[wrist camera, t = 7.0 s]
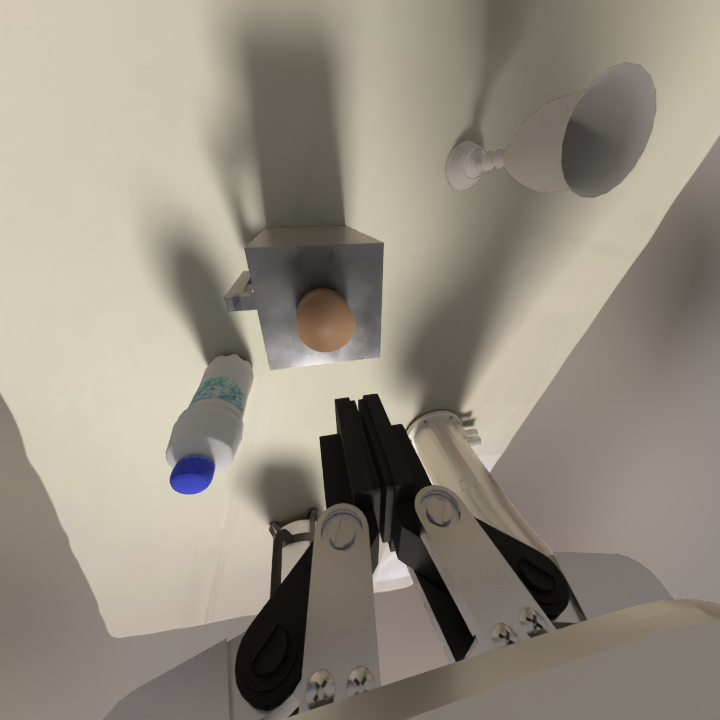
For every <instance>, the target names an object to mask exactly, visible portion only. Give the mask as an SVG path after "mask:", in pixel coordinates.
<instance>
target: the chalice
mask: <svg viewBox="0 0 720 720" xmlns="http://www.w3.org/2000/svg"><path fill="white" fill-rule="evenodd" d="M655 113H656V90H655V87H654V84H653V81H652V78H651V75H650V74H649V73H648V72H647V71H646V70H645V69H644V68H643V67H642V66H641V65H638V64H633V63H628V62H625V63H622V64H619V65H616V66H613V67H610V68H609V69H607V70H606V71H605V72H604V73H603V74H601V75H600V76H599V77H598V78H596V79H595V80H594V81H593V82H592V83H591V84H590V85H589V86H588V87H587V88H585V89H582V90H580V91H577V92H575V93H572V94H569V95H567V96H564V97H562V98H559V99H557V100H554V101H551V102H549V103H547V104H545V105H544V106H543V107H542V108H540V109H539V110H538V111H537V112H536V113H535V114H533V115H532V116H531V117H530V118H529V119H528V120H527V121H526V122H525V123H524V124H523V125H522V126H521V128H520V129H519V130H518V132H517V133H516V134H515V136H514V137H513V138H512V140H511V141H510V142H509V144H508V145H507V147H506V149H505V150H502V149H500V150H498V151H497V152H496V153H495V154H494V152H492V151H489V152H487V153H486V152H485V150H484V149H483V148H482V147H481V146H479V145H478V144H477V143H475V142H473V141H463V142H461V143H459V144H458V145H457V146H455V147H454V148H453V150H452V151H451V153H450V154H449V157H448V160H447V164H446V177H447V180H448V182H449V184H450V185H451V186H452V187H453V188H454V189H456V190H466V189H469V188H471V187H472V186H473V185H474V184H475V183H476V182H477V181H478V180H479V179H480V178H481V177H482V175H483V174H484V172H485V171H491V170H492V169H493V168H494V167H495V168H497V169H500V168H502V167H503V166H504V167H505V169H506V170H507V172H508V173H509V174H510V175H511V176H512V177H513V178H514V179H515V180H516V181H517V182H519V183H521V184H523V185H524V186H526V187H528V188H530V189H532V190H534V191H541V192H547V191H572V192H574V193H576V194H577V195H579V196H581V197H590V198H594V197H597V196H600V195H602V194H605V193H607V192H609V191H610V190H611V189H613V188H614V187H616V186H617V185H618V184H620V183H621V182H622V181H623V180H624V178H625V177H626V176H627V175H628V174H629V173H630V172H631V170H632V169H633V168H634V166H635V165H636V163H637V161H638V160H639V158H640V156H641V155H642V153H643V151H644V150H645V147H646V144H647V142H648V139H649V137H650V134H651V132H652V128H653V123H654V118H655Z"/></svg>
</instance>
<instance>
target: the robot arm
mask: <svg viewBox="0 0 720 720" xmlns="http://www.w3.org/2000/svg"><path fill="white" fill-rule="evenodd" d="M335 411H336V424H337V434H333V435H327V436H321V437H319V438H320V449H321V459H322V469H323V479H324V489H325V499H326V510H325V511H324V512H323V513H322V514H321V516H320V517H319V519H318V521H317V523H316V527H315V533H314V540H313V542H312V543H311V544H310V546H309V547H308V548H307V550H306V551H305V552H304V554H303V555H302V556H301V558H300V559H299V560H298V562H297V563H296V564H295V566H294V567H293V568H292V570H291V571H290V572H289V574H288V575H287V576H286V578H285V579H284V580H283V582H282V583H281V585H280V586H279V587H278V589H277V590H276V591H275V593H274V594H273V595H272V597H271V598H270V599H269V601H268V602H267V603H266V605H265V606H264V607H263V609H262V610H261V611H260V613H259V614H258V615H257V617H256V618H255V619H254V621H253V622H252V623H251V625H250V626H249V628H248V629H247V631H245V632H244V633H242V634H240V635H238V636H237V637H235V638H233V639H231V640H229V641H228V639H225V640H223V641H221V642H219V643H218V644H216V645H214V646H212V647H210V648H209V649H207V650H205V651H203V652H201V653H200V654H198V655H196V656H194V657H193V658H191V659H189V660H187V661H185V662H184V663H182V664H180V665H178V666H176V667H175V668H173V669H171V670H169V671H167V672H166V673H164V674H162V675H160V676H158V677H157V678H155V679H153V680H151V681H149V682H148V683H146V684H144V685H142V686H140V687H139V688H137V689H135V690H133V691H132V692H131V693H129V694H128V695H127V696H125V697H124V698H123V699H121V700H120V701H119V702H118V703H117V704H116V705H115V706H114V707H113V708H112V710H111V711H110V712H109V713H108V714H107V716H106V717H105V718H104V719H103V720H720V603H717V602H710V601H704V600H698V599H673V598H672V597H671V595H670V594H669V593H668V591H667V590H666V589H665V588H664V586H663V585H662V584H661V582H660V581H659V580H658V579H657V578H656V577H655V576H654V575H653V573H651V571H650V570H648V569H647V568H646V567H644V566H643V565H642V564H640V563H639V562H637V561H635V560H633V559H631V558H629V557H627V556H623V555H619V554H602V553H576V552H553V551H552V550H551V549H550V548H549V547H548V546H547V545H546V544H545V542H544V541H542V539H541V538H540V537H539V536H538V535H537V534H536V533H535V532H534V531H533V529H532V528H531V527H530V526H529V525H528V524H527V522H526V521H525V520H524V519H523V518H522V516H521V515H520V514H519V512H518V511H517V510H516V508H515V507H514V506H513V505H512V503H511V502H510V501H509V499H508V498H507V497H506V495H505V494H504V492H503V491H502V490H501V488H500V487H499V486H498V484H497V483H496V481H495V480H494V479H493V477H492V476H491V475H490V473H489V472H488V470H487V469H486V468H485V466H484V465H483V463H482V462H481V461H480V459H479V458H478V456H477V455H476V454H475V452H474V451H473V450H472V448H471V447H470V446H473V445H479V444H481V439H480V437H479V436H478V432H477V430H476V429H470V430H464V429H463V425H462V422H461V420H460V419H459V417H458V416H457V415H456V414H454V413H453V412H450V411H446V410H439V411H433V412H430V413H427V414H425V415H423V416H422V417H420V418H418V419H417V420H416V421H415V422H414V423H413V424H412V425H411V426H410V427H409V429H408V430H407V432H406V430H405V428H404V427H403V425H402V424H397V425H391V424H390V421H389V419H388V417H387V414H386V412H385V410H384V407H383V405H382V403H381V400H380V398H379V396H378V394H370V395H364V396H363V399H361V400H358V409H357V406H356V403H355V400H353V401H350V399H349V397H348V398H340V399H335ZM419 457H420V459H421V461H422V463H423V465H424V467H425V469H426V471H427V473H428V475H429V477H430V479H431V481H432V483H433V485H432V484H431V482H430V480H429V478H428V476H427V473H426V471H425V469H424V467H423V465H422V463H421V461H420V459H419ZM379 532H380V536H381V539H382V542H383V543H385V542H388V544H389V548H390V551H391V552H393V551H396V554H397V557H398V559H399V560H400V561H402V562H403V563H404V564H406V565H407V567H408V571H409V573H410V576H411V578H412V580H413V582H414V584H415V586H416V589H417V591H418V594H419V596H420V598H421V600H422V603H423V604H424V607H425V609H426V612H427V614H428V616H429V618H430V621H431V623H432V625H433V627H434V630H435V632H436V634H437V636H438V638H439V641H440V643H441V645H442V647H443V650H444V652H445V654H446V657H447V659H448V661H449V663H450V664H449V665H446V666H443V667H440V668H437V669H434V670H430V671H427V672H424V673H421V674H419V675H415V676H412V677H409V678H406V679H403V680H400V681H397V682H394V683H391V684H388V685H385V686H382V687H381V682H380V669H379V658H378V657H379V656H378V644H377V631H376V618H375V606H374V592H373V579H372V575H373V573H374V571H375V569H376V567H377V565H378V554H379Z"/></svg>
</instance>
